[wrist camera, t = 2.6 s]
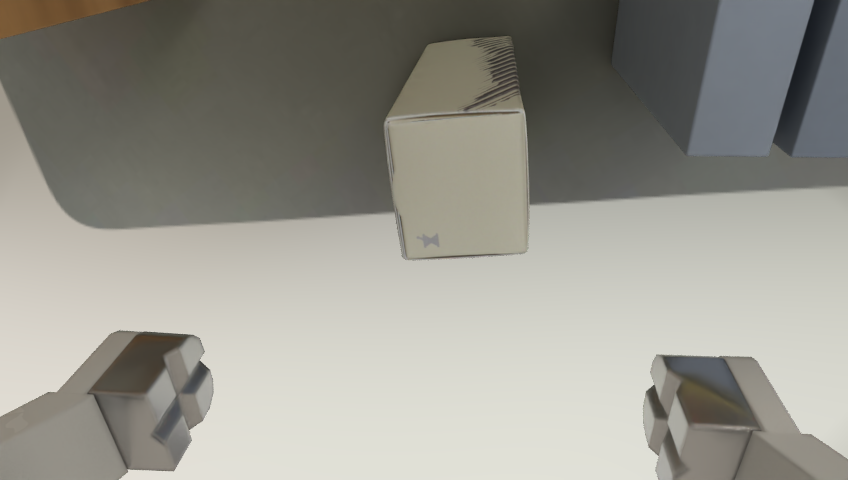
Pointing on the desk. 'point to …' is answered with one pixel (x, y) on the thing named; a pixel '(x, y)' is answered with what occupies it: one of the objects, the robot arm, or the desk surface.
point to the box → (460, 153)
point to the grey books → (740, 73)
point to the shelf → (50, 13)
